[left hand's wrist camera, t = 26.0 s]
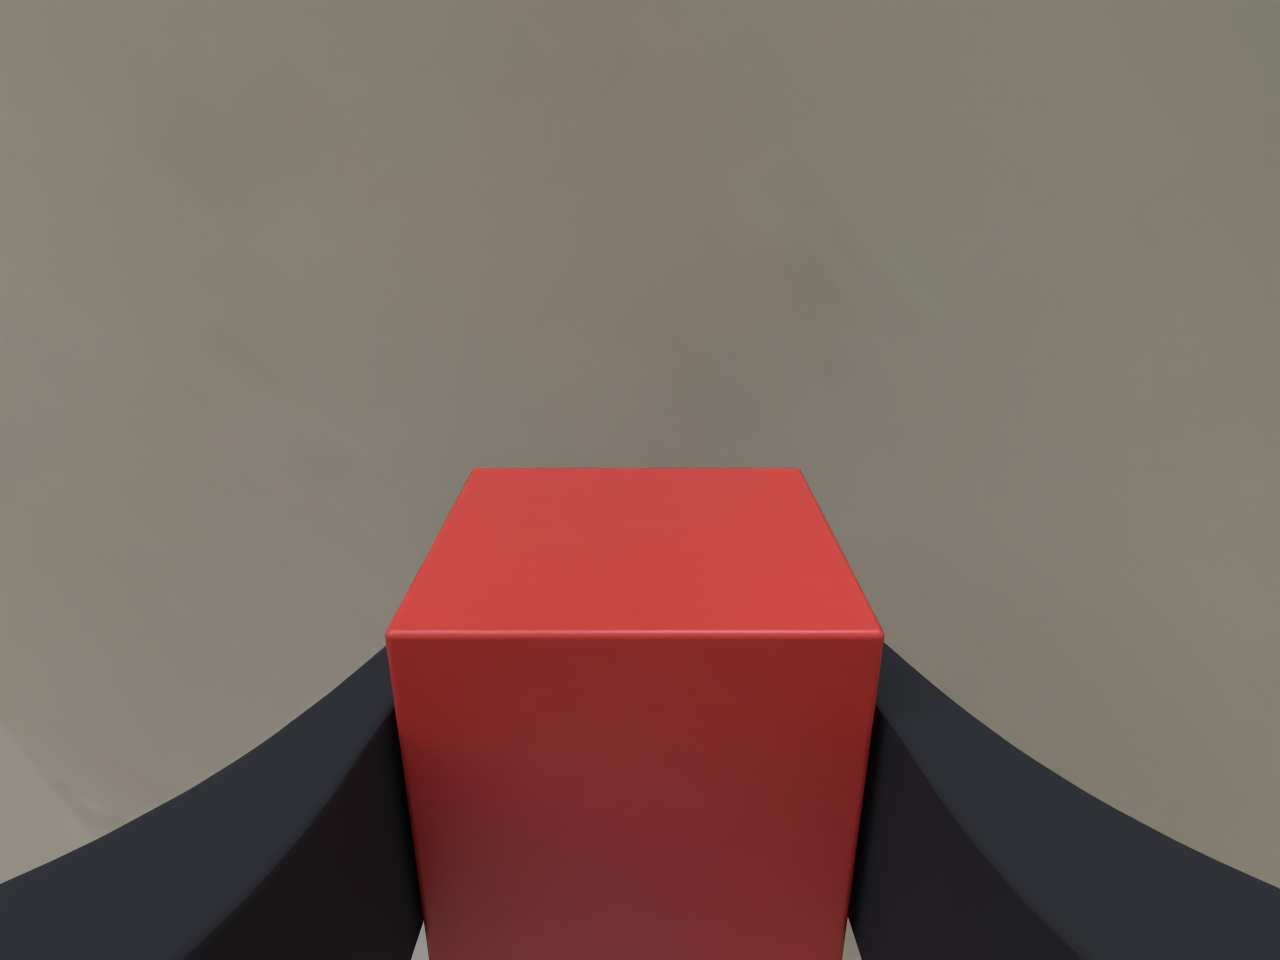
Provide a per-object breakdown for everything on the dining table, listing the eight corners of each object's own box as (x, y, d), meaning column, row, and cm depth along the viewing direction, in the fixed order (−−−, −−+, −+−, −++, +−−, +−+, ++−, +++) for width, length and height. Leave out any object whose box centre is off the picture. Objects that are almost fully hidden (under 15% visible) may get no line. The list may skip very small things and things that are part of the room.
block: (779, 741, 14) (839, 995, 10) (494, 741, 14) (431, 995, 10) (800, 465, 12) (887, 632, 8) (472, 465, 12) (381, 632, 8)
